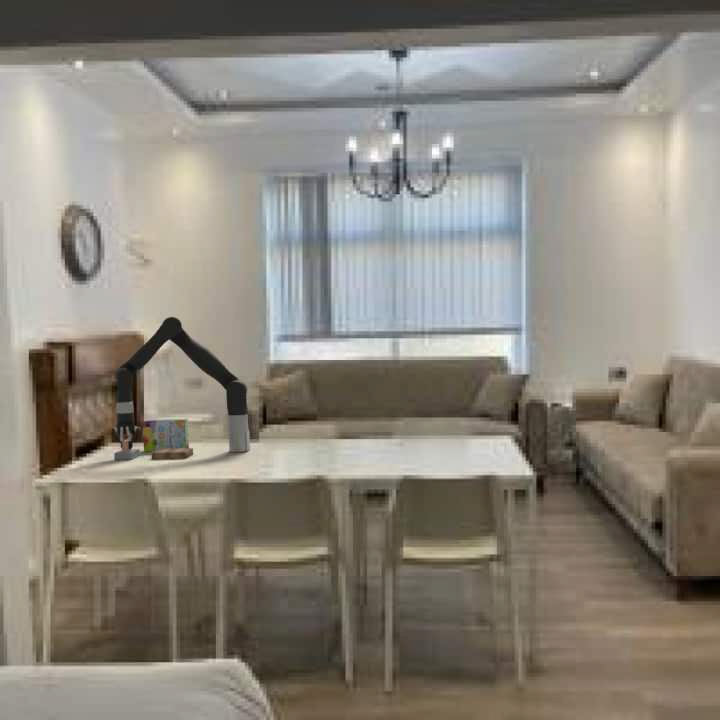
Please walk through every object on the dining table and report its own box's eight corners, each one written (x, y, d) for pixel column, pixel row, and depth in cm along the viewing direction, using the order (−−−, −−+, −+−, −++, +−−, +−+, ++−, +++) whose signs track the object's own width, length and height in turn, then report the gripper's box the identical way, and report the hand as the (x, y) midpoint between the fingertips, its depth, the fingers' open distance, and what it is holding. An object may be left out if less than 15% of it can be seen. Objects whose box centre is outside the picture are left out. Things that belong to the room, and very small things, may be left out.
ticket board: (193, 454, 426) (192, 447, 426) (186, 458, 414) (186, 451, 414) (159, 455, 427) (158, 448, 427) (151, 459, 415) (151, 452, 415)
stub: (139, 455, 427) (139, 438, 427) (131, 459, 415) (131, 441, 415) (122, 455, 428) (122, 438, 428) (114, 459, 416) (113, 442, 416)
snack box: (189, 449, 445) (188, 418, 444) (186, 450, 439) (184, 419, 438) (147, 449, 447) (145, 419, 446) (143, 451, 441) (141, 420, 440)
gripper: (142, 410, 424) (144, 447, 425) (112, 411, 425) (114, 448, 426) (137, 412, 416) (139, 450, 417) (107, 413, 417) (109, 450, 418)
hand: (126, 449), depth 422 cm, fingers closed on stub, 2 cm apart
